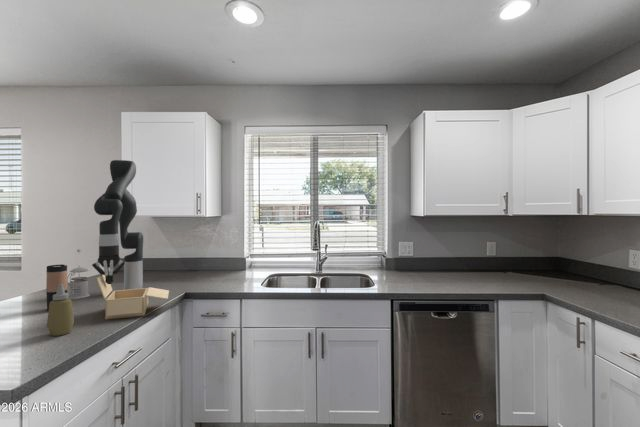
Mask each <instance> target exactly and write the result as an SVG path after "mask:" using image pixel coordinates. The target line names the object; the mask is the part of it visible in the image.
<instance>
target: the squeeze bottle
mask: <svg viewBox="0 0 640 427" xmlns="http://www.w3.org/2000/svg"><path fill="white" fill-rule="evenodd" d="M68 297H69V293H68V292H67V293H65V291H64V288H63V284H59V285H58V289H57V293H56V294H55V295H53V301H51V302H50V303H49V311H47V313H48V314H47V320H46V328H47V330H48V332H49V334H50V336H53V337H57V336H59V337H60V336H63V335H64V336H65V335H67V334H70V333H71V331H72V328H73V326H74V323H75V317H74V310H73V302H72V299H69V298H68Z"/></svg>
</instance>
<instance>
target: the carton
mask: <svg viewBox="0 0 640 427" xmlns="http://www.w3.org/2000/svg"><path fill="white" fill-rule="evenodd" d="M148 289H149V287H145V288H144V287H143V289H129V290H124V289H120V290H118V289H117V290H112V291H111V292H110V294H109V295H108V296H107V297H106V298H105V299H104V302H105V303H104V304H105V306H104V310H105V312H104V314H105V316H104V317H105V320H114V319H124V318H136V317H142V316H145V315H146V312H147V309H148V307H149V296H146V294H147V291H148Z"/></svg>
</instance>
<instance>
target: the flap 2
mask: <svg viewBox="0 0 640 427" xmlns="http://www.w3.org/2000/svg"><path fill="white" fill-rule="evenodd" d="M169 293H170V290H167V289H162V288H156V287H150V286H149V287H148V291H147V294H146V296H148V298H149V297H150V298H157V299H163V300H169V299H168V298H169Z"/></svg>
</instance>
